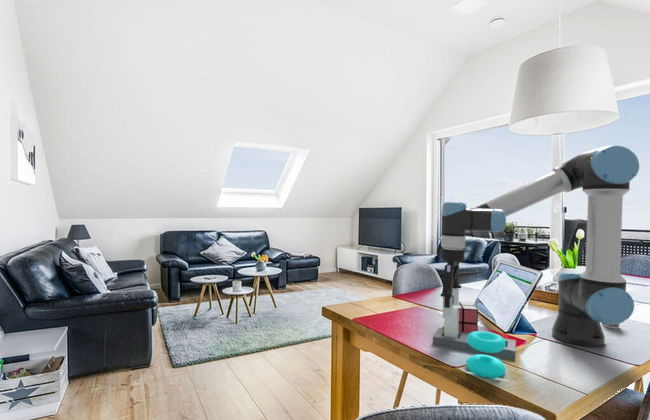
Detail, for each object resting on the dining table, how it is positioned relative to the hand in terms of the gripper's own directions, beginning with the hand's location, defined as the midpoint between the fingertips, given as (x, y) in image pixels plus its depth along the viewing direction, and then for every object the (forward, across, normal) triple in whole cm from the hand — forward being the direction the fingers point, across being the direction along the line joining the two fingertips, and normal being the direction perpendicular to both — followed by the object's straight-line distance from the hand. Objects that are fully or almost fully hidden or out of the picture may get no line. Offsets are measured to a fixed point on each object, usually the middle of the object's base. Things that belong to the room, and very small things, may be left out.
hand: (450, 312), depth 122 cm
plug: (+10, 0, 0) cm, 10 cm away
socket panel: (+10, 0, +8) cm, 13 cm away
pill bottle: (+10, -49, +52) cm, 72 cm away
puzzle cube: (+11, -14, +2) cm, 18 cm away
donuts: (+11, +16, +12) cm, 23 cm away
